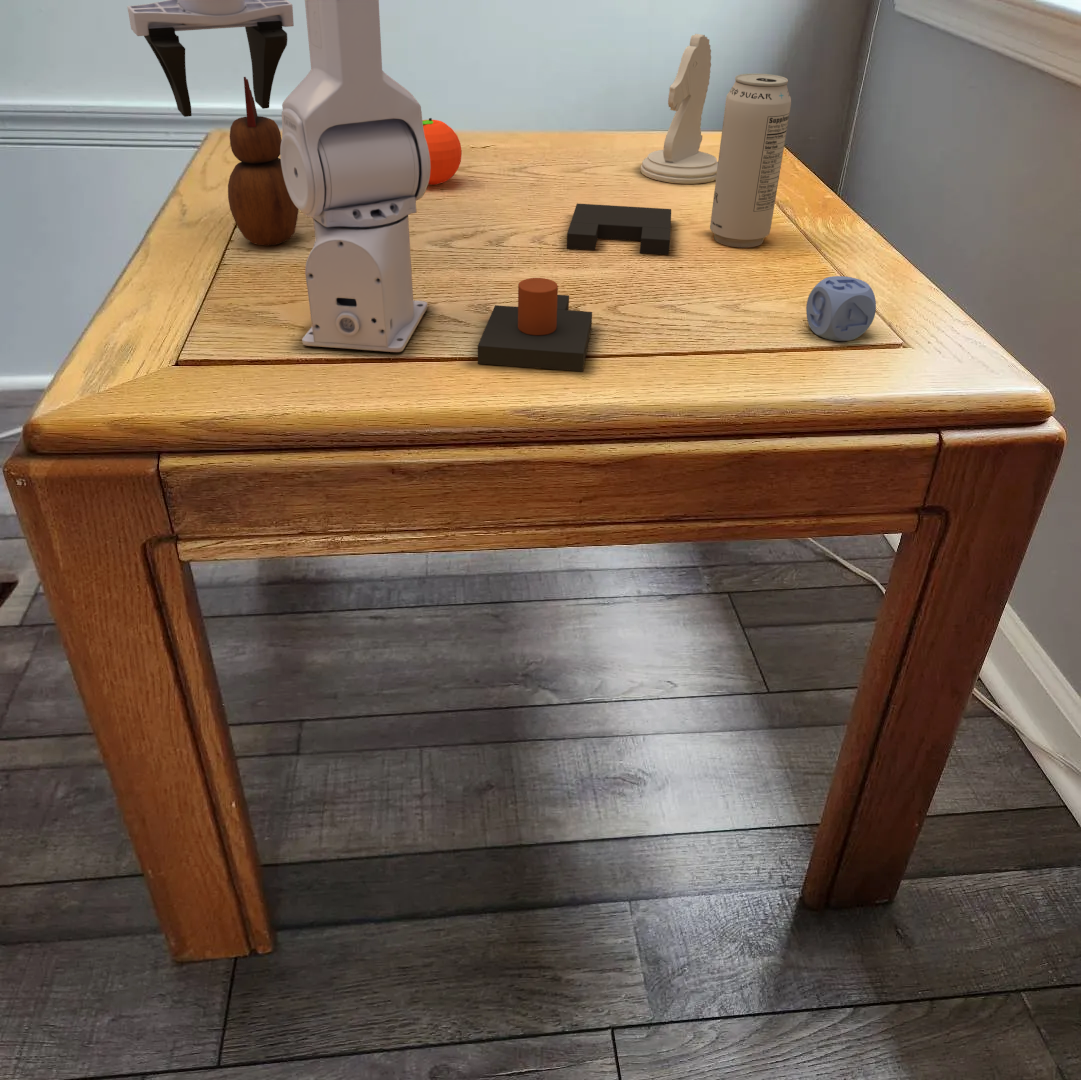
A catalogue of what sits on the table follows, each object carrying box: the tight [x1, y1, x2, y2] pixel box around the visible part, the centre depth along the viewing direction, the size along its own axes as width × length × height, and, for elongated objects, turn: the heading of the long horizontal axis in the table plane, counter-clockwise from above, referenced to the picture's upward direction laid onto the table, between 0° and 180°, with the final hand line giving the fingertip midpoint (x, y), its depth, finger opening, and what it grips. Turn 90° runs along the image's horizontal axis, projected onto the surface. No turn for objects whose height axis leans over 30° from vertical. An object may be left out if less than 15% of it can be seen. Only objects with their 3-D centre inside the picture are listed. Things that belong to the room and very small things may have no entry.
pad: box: [477, 277, 593, 372], centre depth 75 cm, size 11×8×5 cm
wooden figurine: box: [227, 76, 300, 247], centre depth 89 cm, size 7×6×15 cm
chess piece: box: [640, 33, 718, 185], centre depth 112 cm, size 10×10×15 cm
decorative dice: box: [805, 275, 877, 342], centre depth 77 cm, size 4×4×4 cm
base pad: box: [566, 202, 672, 256], centre depth 97 cm, size 10×10×2 cm
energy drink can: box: [709, 73, 792, 249], centre depth 93 cm, size 6×6×15 cm
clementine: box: [422, 117, 463, 186], centre depth 108 cm, size 8×7×7 cm
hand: (224, 108), depth 93 cm, fingers open, 7 cm apart
